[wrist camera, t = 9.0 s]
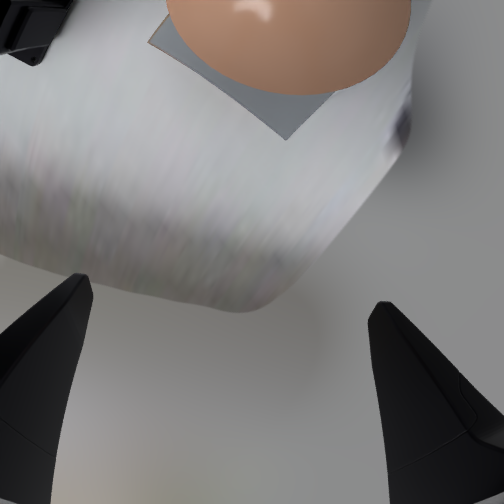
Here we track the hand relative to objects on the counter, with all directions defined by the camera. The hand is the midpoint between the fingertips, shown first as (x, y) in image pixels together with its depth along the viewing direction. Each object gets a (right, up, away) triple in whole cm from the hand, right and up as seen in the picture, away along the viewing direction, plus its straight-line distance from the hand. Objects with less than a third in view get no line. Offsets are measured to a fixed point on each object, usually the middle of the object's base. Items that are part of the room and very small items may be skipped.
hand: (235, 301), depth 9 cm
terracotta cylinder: (+1, +9, -1) cm, 10 cm away
